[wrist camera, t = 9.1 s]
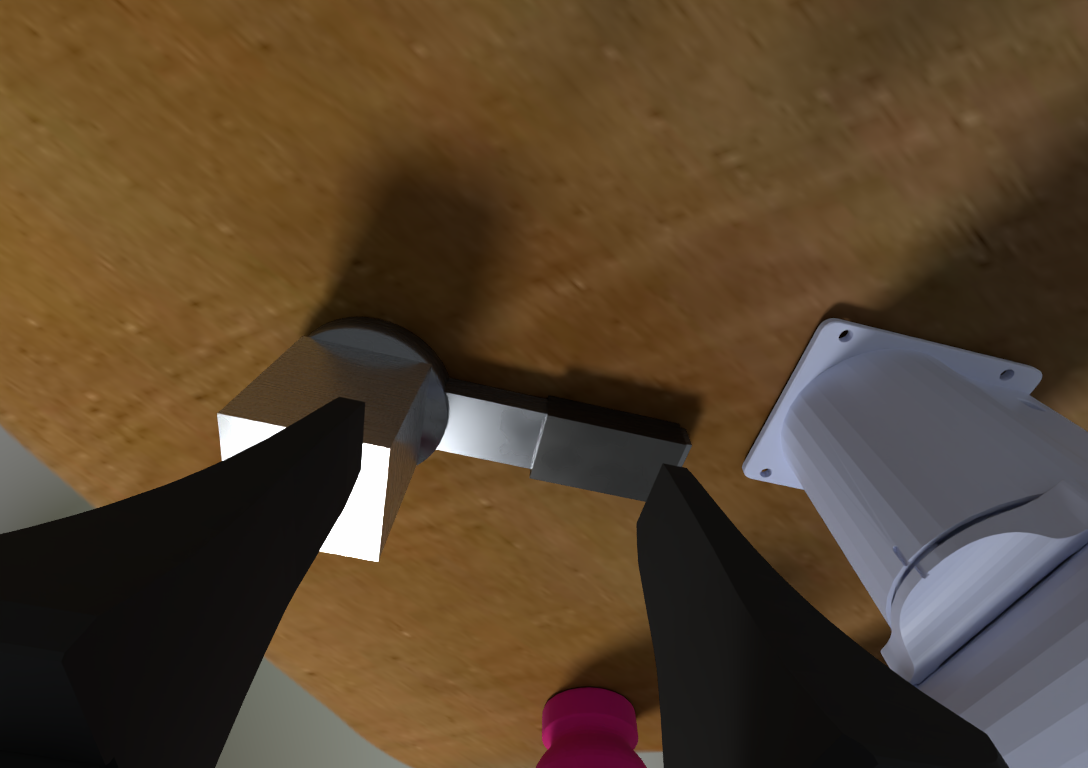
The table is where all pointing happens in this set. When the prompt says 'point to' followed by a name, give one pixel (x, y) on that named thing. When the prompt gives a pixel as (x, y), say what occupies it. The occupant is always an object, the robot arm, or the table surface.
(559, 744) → the pepper mill
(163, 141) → the table surface
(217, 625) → the robot arm
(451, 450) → the ratchet
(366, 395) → the metal cube
